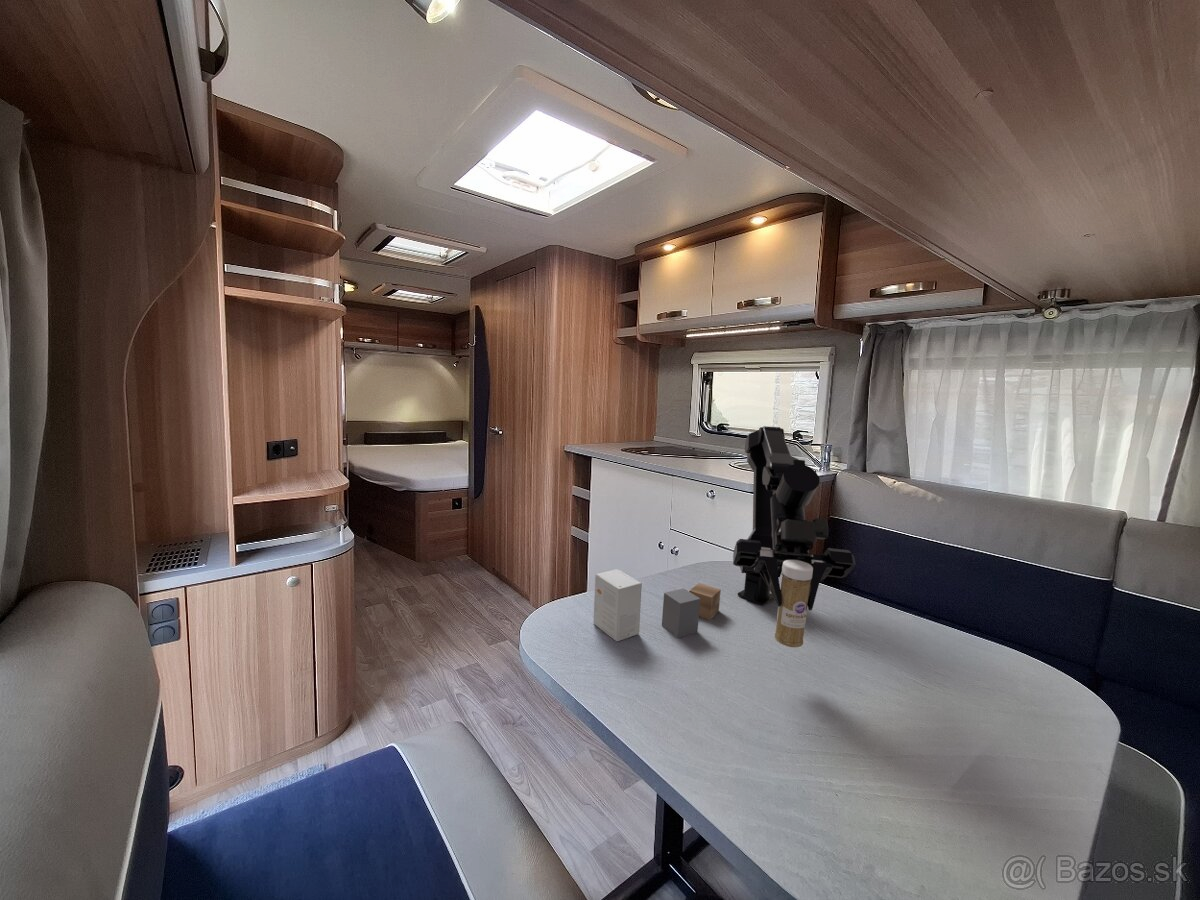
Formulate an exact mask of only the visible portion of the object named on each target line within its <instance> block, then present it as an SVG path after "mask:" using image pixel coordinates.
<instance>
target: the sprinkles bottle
mask: <svg viewBox="0 0 1200 900" xmlns="http://www.w3.org/2000/svg"><path fill="white" fill-rule="evenodd" d="M812 574H813V567H812V566H811V565H810V564H808V563H806V562H803V561H799V560H785V561H784V562H783V565H782V572H781V575H782V576H781V577H782V578H781V583H780V591H781V606H777V611H776V612H777V613H776V628H775V633H774V638H775V641H776V642H778V643H779V644H780V645H783V646H786V647H788V648H800V647H802V646H803V645H804V634H805V628H806V627H805V626H806V622H807V614H808V613H807V612H808V606H807V605H808V596H809V587H810V581H811V579H812Z"/></svg>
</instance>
